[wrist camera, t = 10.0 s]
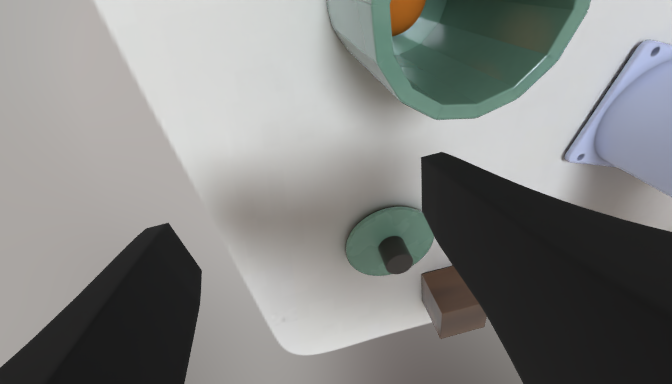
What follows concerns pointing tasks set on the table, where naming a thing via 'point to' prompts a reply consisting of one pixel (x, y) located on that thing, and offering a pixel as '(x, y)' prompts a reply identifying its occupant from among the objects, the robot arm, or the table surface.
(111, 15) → the table surface
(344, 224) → the table surface
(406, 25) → the ball
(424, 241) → the lid
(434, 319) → the block
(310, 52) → the table surface
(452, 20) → the tin
